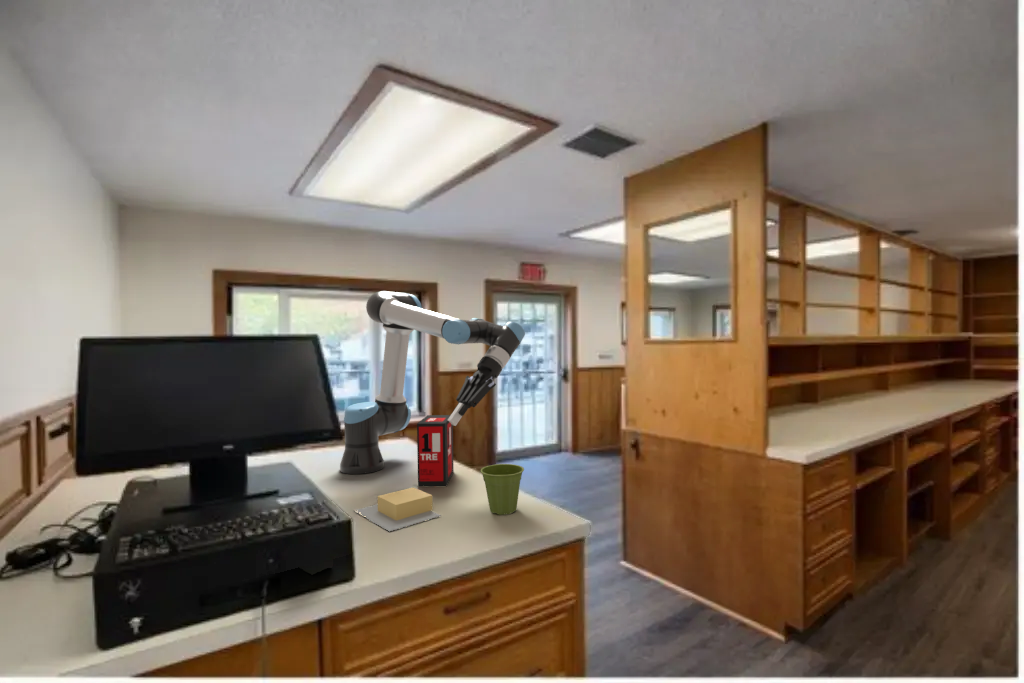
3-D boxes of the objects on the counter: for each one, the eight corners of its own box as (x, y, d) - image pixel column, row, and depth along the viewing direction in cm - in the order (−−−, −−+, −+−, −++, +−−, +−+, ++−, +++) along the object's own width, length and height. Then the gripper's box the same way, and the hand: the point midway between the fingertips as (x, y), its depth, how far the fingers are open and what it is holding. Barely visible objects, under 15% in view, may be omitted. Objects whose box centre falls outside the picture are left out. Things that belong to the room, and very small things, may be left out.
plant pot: (507, 500, 142) (507, 461, 142) (533, 512, 132) (532, 470, 132) (472, 509, 135) (472, 468, 135) (496, 522, 125) (496, 477, 125)
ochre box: (413, 501, 141) (377, 510, 134) (413, 487, 141) (377, 496, 134) (432, 510, 134) (396, 520, 126) (432, 495, 134) (395, 505, 126)
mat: (353, 511, 134) (353, 510, 134) (402, 498, 145) (402, 497, 145) (389, 532, 120) (389, 531, 120) (441, 516, 130) (441, 515, 130)
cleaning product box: (428, 472, 173) (427, 415, 173) (453, 472, 172) (452, 415, 172) (417, 486, 156) (417, 423, 156) (445, 486, 156) (445, 423, 156)
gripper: (473, 354, 161) (431, 412, 150) (499, 356, 151) (456, 418, 141) (486, 368, 164) (446, 426, 154) (513, 371, 155) (472, 433, 145)
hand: (451, 422), depth 147 cm, fingers closed
